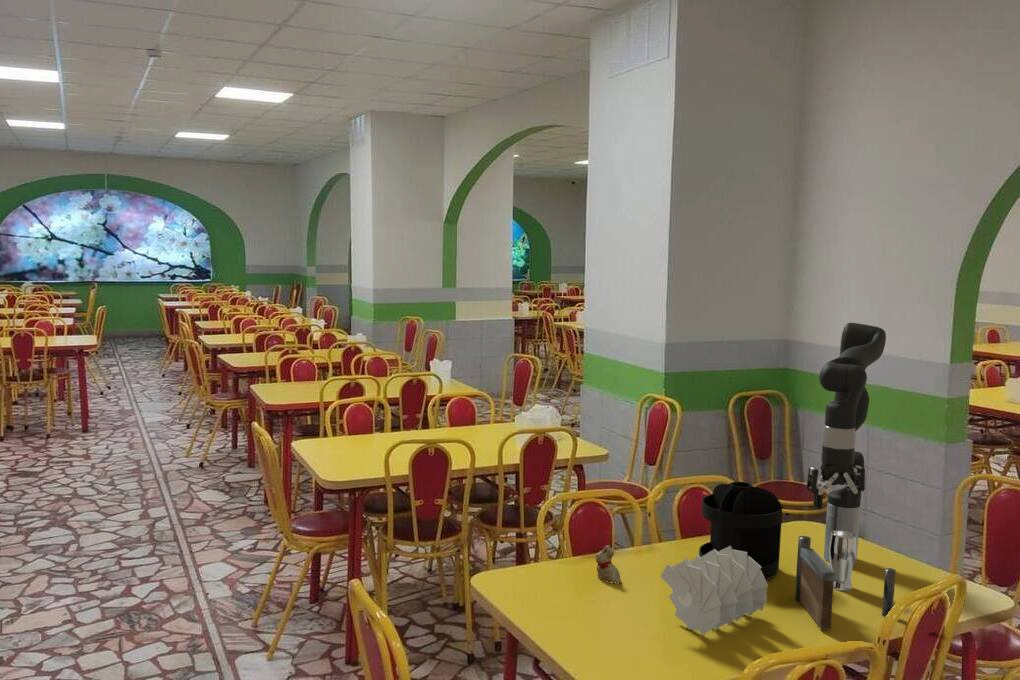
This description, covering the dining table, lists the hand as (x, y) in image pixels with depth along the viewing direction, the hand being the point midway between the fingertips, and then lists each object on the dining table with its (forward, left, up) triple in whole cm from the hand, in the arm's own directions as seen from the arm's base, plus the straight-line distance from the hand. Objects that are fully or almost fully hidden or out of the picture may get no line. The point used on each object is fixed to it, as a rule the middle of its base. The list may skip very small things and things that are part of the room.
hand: (834, 507), depth 212 cm
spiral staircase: (+16, -25, -28) cm, 41 cm away
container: (-24, -26, -28) cm, 45 cm away
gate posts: (-8, +3, -28) cm, 29 cm away
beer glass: (-23, +2, -28) cm, 36 cm away
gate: (+2, -3, -27) cm, 27 cm away
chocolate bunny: (+1, -57, -28) cm, 64 cm away
